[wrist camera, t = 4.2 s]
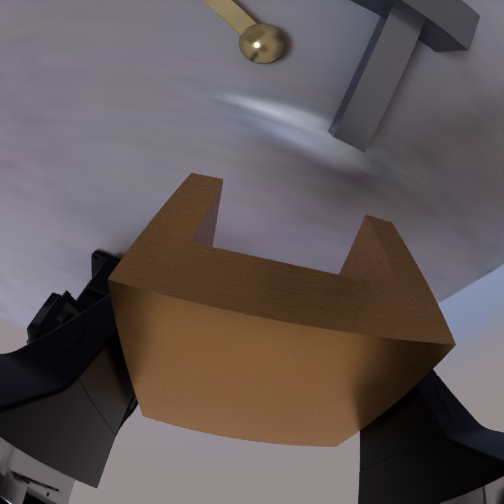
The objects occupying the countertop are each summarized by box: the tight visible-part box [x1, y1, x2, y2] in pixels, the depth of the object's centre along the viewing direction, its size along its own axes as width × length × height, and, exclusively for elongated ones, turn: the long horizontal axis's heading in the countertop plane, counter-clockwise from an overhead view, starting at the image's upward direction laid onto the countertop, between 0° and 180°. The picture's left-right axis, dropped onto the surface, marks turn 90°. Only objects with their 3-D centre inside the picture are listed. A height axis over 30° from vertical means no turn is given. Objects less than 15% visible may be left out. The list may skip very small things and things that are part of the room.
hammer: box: [328, 0, 480, 152], centre depth 11 cm, size 12×7×4 cm, turn 160°
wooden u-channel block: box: [108, 173, 456, 447], centre depth 8 cm, size 6×6×5 cm
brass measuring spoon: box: [202, 0, 285, 64], centre depth 13 cm, size 7×3×1 cm, turn 40°
